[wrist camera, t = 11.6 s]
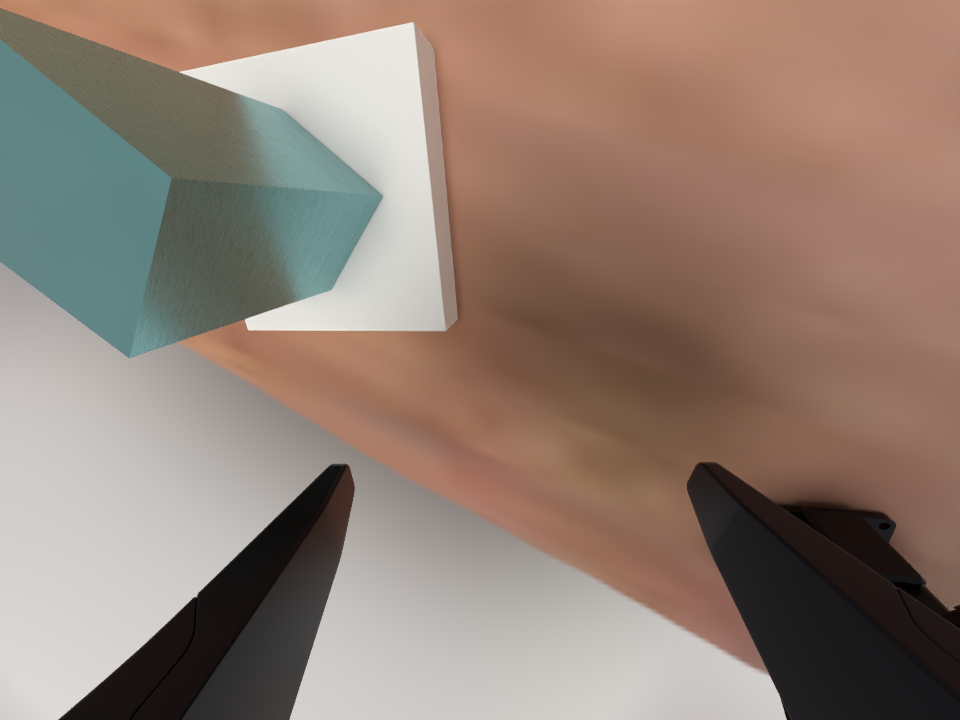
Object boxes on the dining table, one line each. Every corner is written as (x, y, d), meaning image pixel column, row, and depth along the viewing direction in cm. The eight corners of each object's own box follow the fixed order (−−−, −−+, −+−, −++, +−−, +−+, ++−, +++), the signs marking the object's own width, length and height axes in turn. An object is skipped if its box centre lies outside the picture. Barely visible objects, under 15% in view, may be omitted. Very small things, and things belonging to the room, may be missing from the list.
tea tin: (383, 195, 17) (171, 178, 8) (331, 289, 19) (129, 357, 10) (281, 109, 16) (-70, -17, 7) (243, 217, 19) (-50, 224, 10)
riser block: (460, 316, 21) (445, 330, 19) (283, 317, 24) (248, 330, 22) (438, 53, 17) (413, 22, 14) (221, 94, 20) (166, 75, 17)
